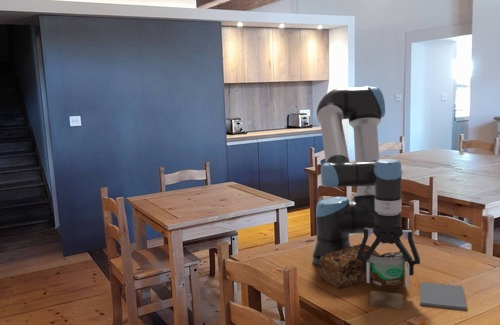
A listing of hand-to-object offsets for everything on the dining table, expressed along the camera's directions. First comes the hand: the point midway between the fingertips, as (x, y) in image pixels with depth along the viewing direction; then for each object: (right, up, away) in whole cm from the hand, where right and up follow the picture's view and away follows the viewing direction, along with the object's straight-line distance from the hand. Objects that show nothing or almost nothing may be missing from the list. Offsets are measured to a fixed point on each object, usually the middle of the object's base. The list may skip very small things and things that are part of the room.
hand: (387, 283), depth 139 cm
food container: (+2, -1, 0) cm, 2 cm away
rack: (0, -4, 0) cm, 4 cm away
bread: (-8, -2, +14) cm, 17 cm away
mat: (+15, -3, -3) cm, 16 cm away
